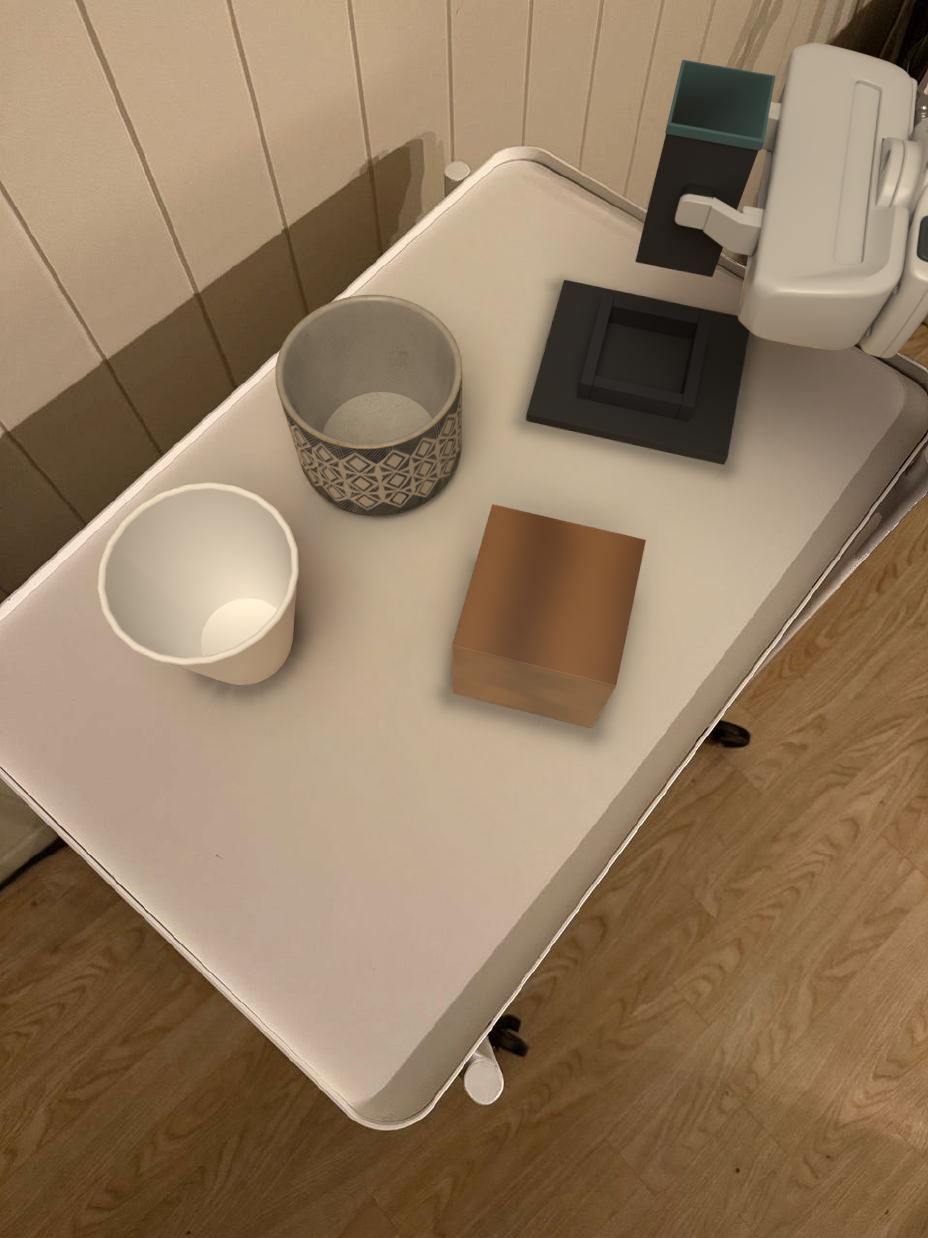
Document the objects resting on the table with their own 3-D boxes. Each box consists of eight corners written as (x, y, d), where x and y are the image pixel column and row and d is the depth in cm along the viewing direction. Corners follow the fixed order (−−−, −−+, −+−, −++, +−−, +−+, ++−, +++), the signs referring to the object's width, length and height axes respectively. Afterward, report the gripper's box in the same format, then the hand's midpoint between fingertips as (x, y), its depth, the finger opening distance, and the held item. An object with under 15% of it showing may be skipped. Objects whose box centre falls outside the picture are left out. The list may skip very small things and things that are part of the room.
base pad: (748, 326, 73) (759, 301, 71) (723, 465, 68) (735, 444, 66) (562, 287, 75) (566, 261, 72) (525, 420, 70) (528, 398, 67)
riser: (618, 600, 64) (646, 539, 55) (591, 728, 61) (615, 686, 51) (487, 568, 65) (492, 503, 56) (453, 693, 61) (452, 646, 52)
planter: (488, 484, 68) (494, 404, 58) (339, 548, 66) (318, 476, 56) (420, 363, 72) (414, 270, 62) (277, 420, 70) (247, 332, 60)
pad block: (725, 218, 57) (775, 74, 48) (713, 279, 55) (764, 141, 46) (647, 204, 58) (682, 58, 48) (633, 263, 56) (667, 124, 47)
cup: (292, 741, 60) (253, 689, 49) (135, 692, 61) (60, 630, 50) (350, 590, 64) (327, 509, 53) (202, 547, 66) (147, 459, 54)
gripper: (961, 34, 51) (726, -6, 52) (944, 304, 44) (671, 251, 45) (909, 130, 57) (699, 92, 58) (886, 382, 50) (646, 333, 51)
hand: (686, 163), depth 51 cm, fingers closed on pad block, 5 cm apart
